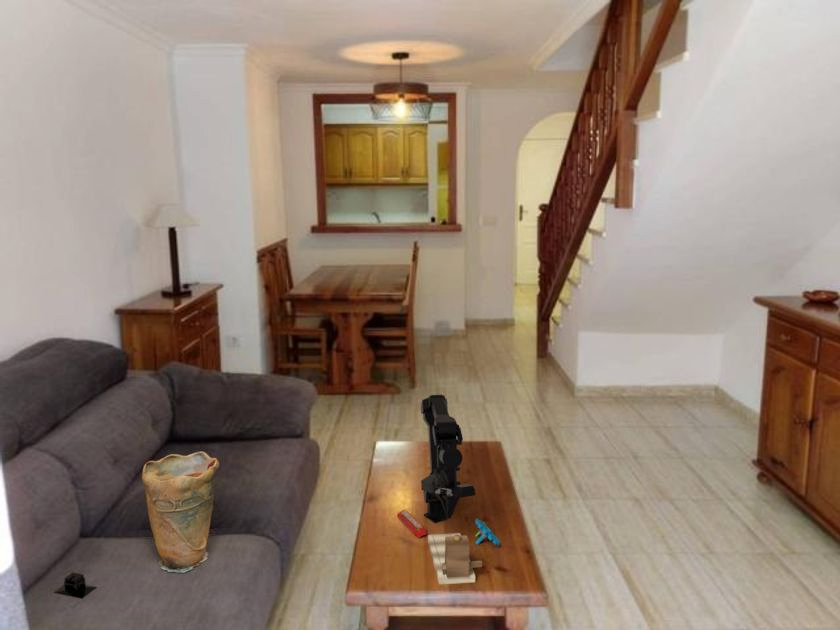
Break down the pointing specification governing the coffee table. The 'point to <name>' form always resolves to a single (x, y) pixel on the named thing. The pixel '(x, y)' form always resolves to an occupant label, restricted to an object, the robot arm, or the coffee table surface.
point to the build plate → (75, 586)
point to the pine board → (438, 558)
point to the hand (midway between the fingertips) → (448, 517)
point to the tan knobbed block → (458, 557)
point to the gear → (485, 533)
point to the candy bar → (411, 523)
